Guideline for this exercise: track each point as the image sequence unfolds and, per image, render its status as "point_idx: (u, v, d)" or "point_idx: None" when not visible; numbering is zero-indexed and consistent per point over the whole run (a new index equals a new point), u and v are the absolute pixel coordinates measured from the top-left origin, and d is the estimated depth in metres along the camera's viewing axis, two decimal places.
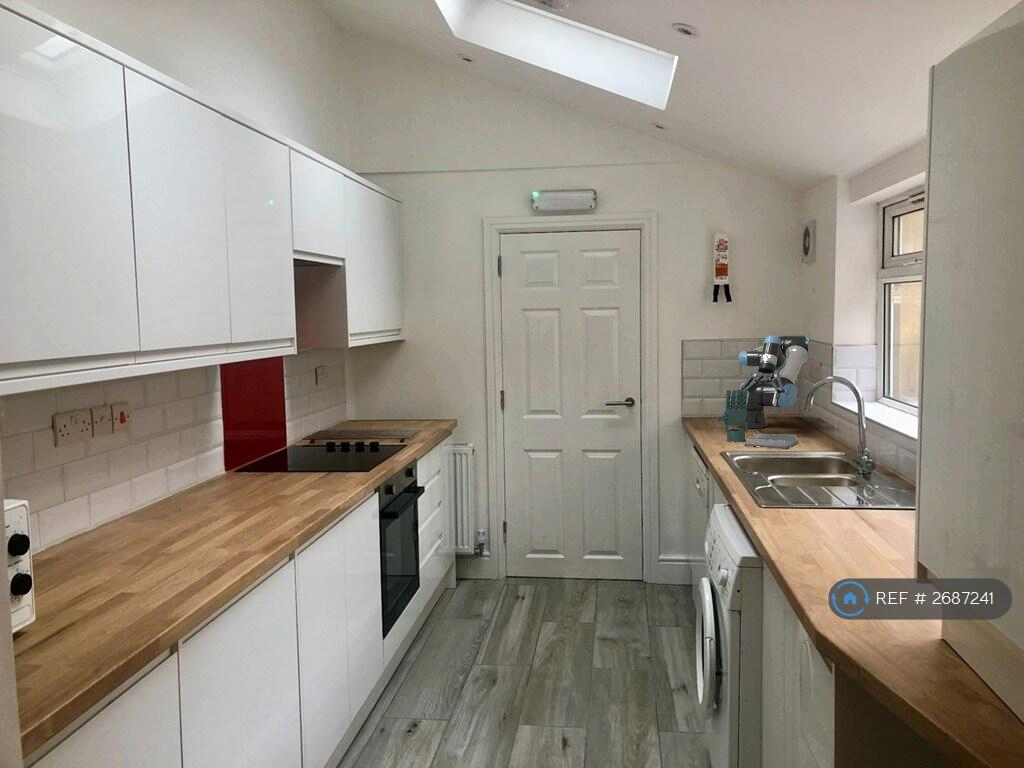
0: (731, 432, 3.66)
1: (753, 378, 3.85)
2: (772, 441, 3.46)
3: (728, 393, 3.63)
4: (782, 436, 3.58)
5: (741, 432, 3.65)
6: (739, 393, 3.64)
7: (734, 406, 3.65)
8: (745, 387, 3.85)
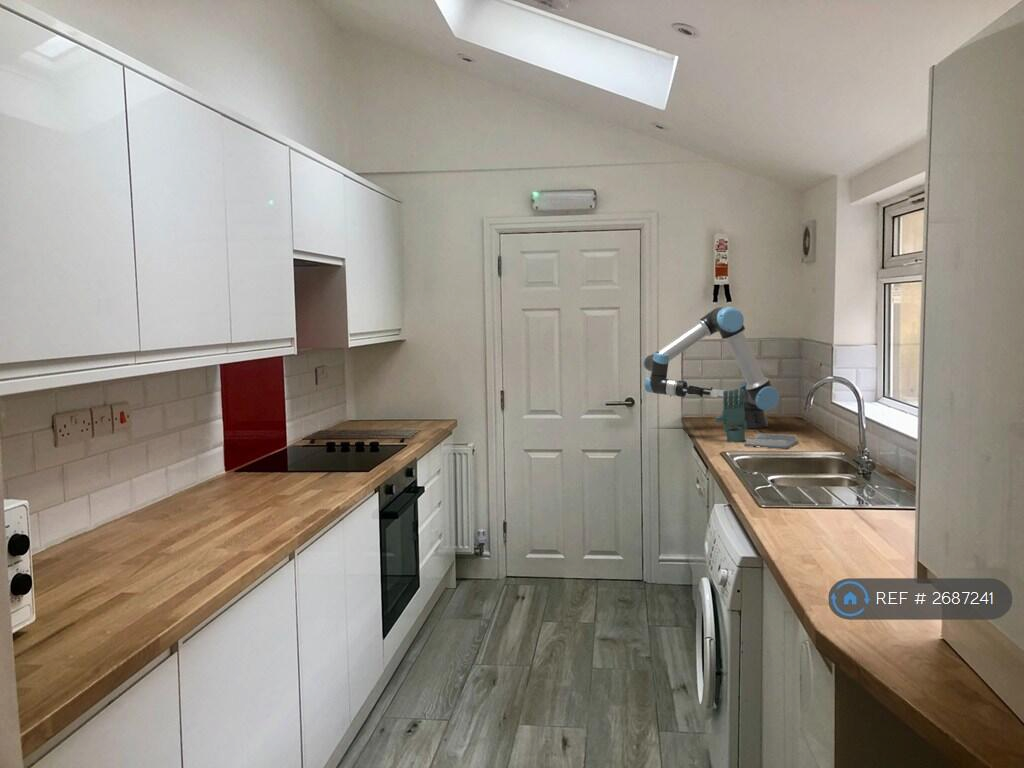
0: (730, 432, 3.66)
1: None
2: (772, 441, 3.46)
3: (725, 394, 3.62)
4: (782, 436, 3.58)
5: (740, 431, 3.65)
6: (736, 393, 3.63)
7: (732, 406, 3.65)
8: (707, 389, 3.84)
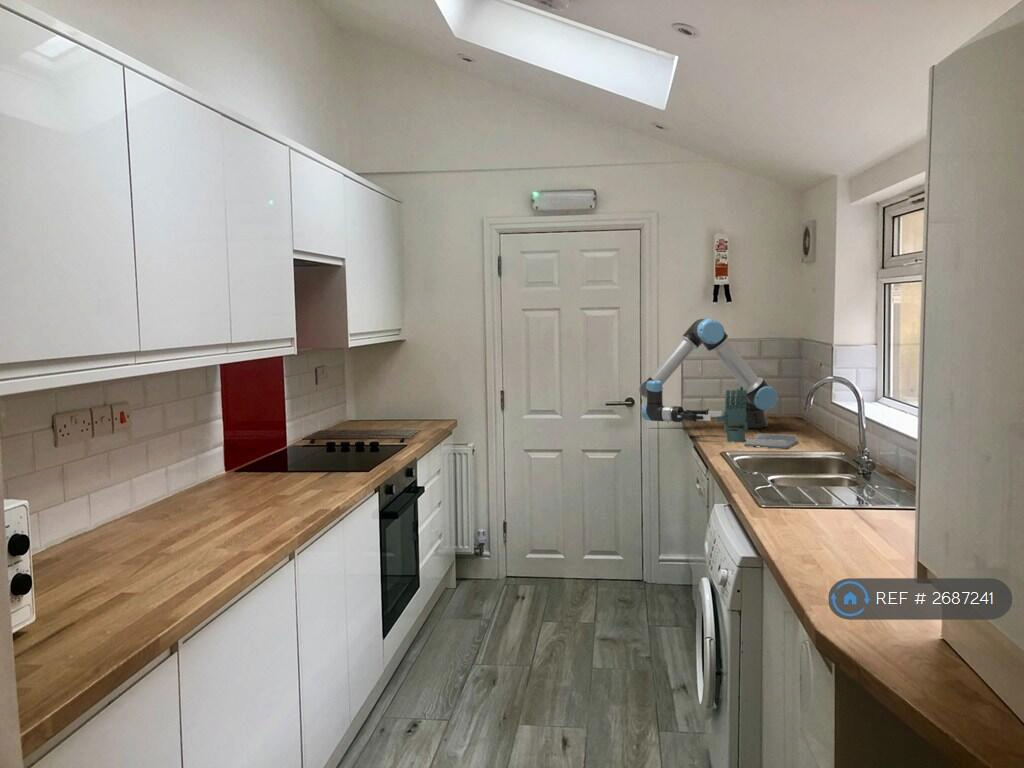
0: (731, 432, 3.66)
1: None
2: (772, 441, 3.46)
3: (727, 393, 3.63)
4: (782, 436, 3.58)
5: (741, 432, 3.65)
6: (738, 393, 3.64)
7: (734, 406, 3.65)
8: None
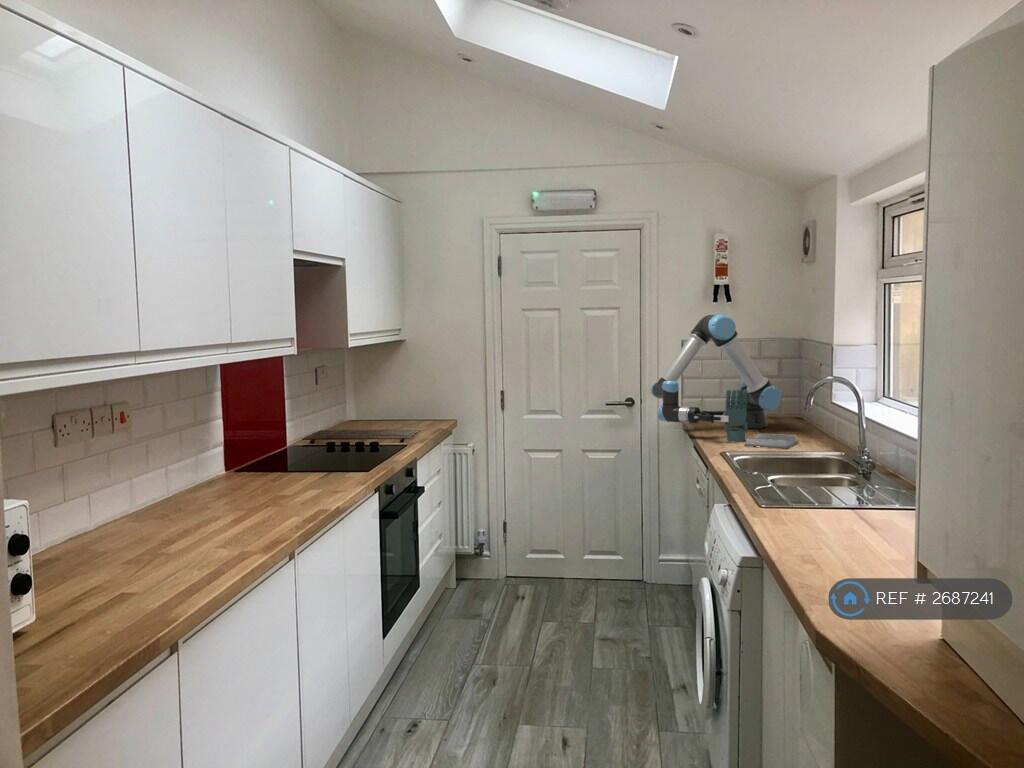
0: (731, 432, 3.66)
1: None
2: (772, 441, 3.46)
3: (728, 393, 3.63)
4: (782, 436, 3.58)
5: (741, 432, 3.65)
6: (739, 393, 3.64)
7: (734, 406, 3.65)
8: None
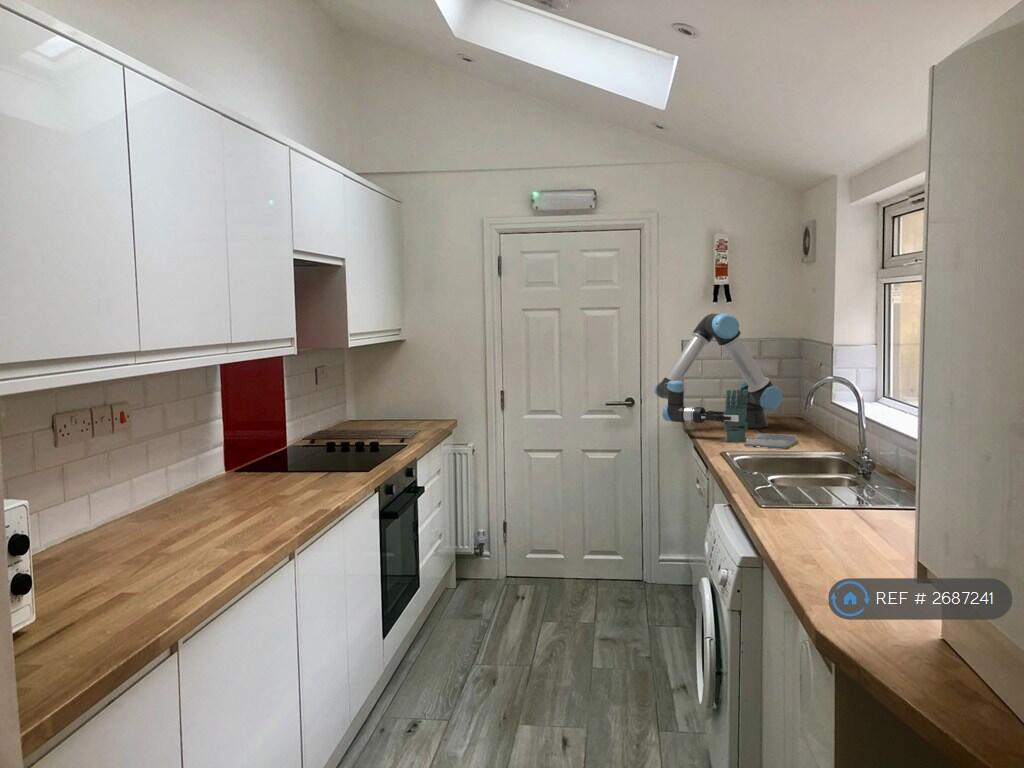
0: (731, 432, 3.66)
1: (714, 413, 3.78)
2: (772, 441, 3.46)
3: (728, 393, 3.63)
4: (782, 436, 3.58)
5: (741, 432, 3.65)
6: (739, 393, 3.64)
7: (734, 406, 3.65)
8: None
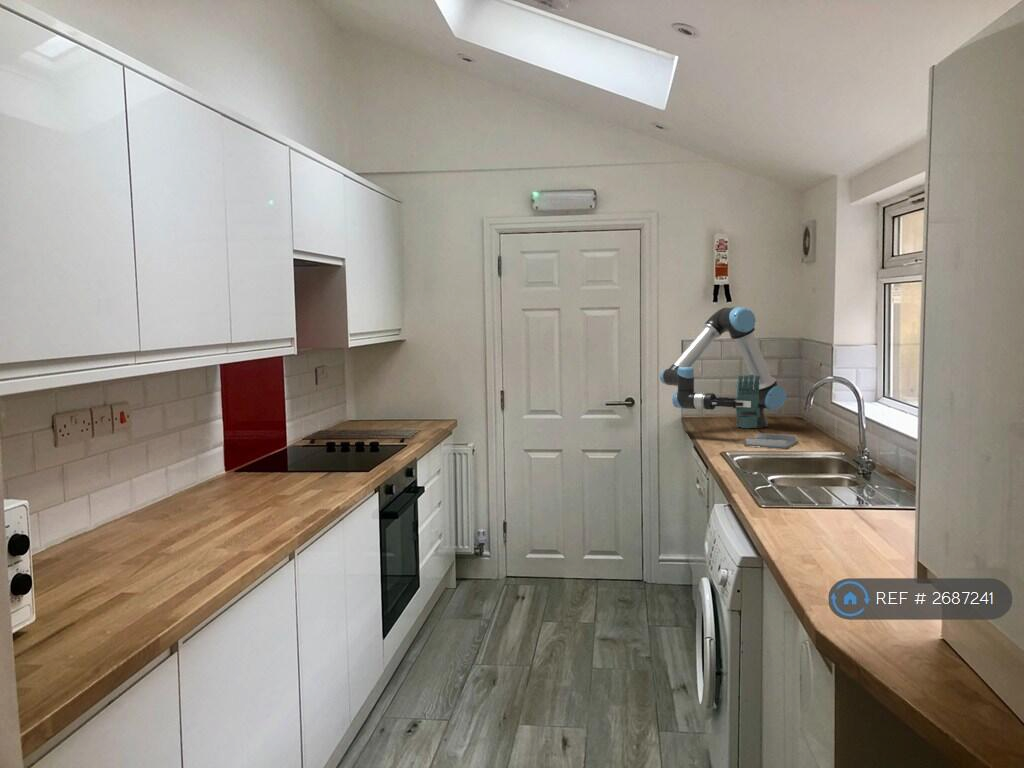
0: (743, 418, 3.60)
1: (726, 399, 3.72)
2: (772, 441, 3.46)
3: (740, 378, 3.57)
4: (782, 436, 3.58)
5: (753, 418, 3.59)
6: (751, 378, 3.58)
7: (746, 392, 3.59)
8: None
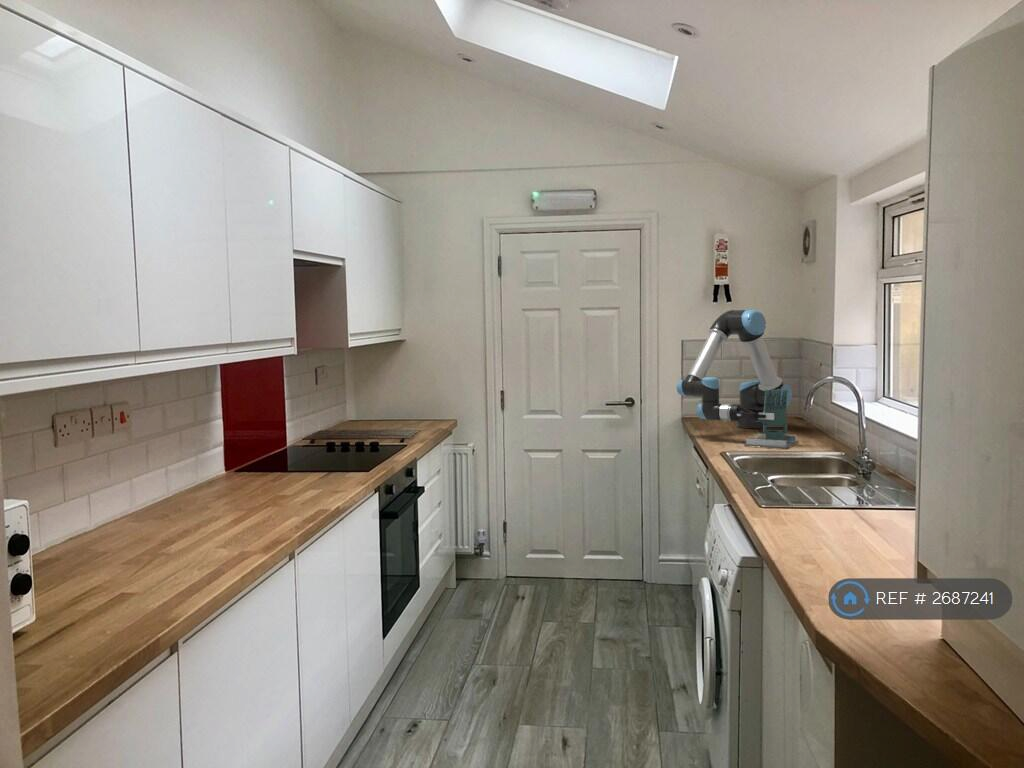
0: (770, 434, 3.52)
1: None
2: (772, 441, 3.46)
3: (767, 393, 3.49)
4: None
5: (781, 434, 3.51)
6: (779, 393, 3.49)
7: (773, 407, 3.51)
8: None
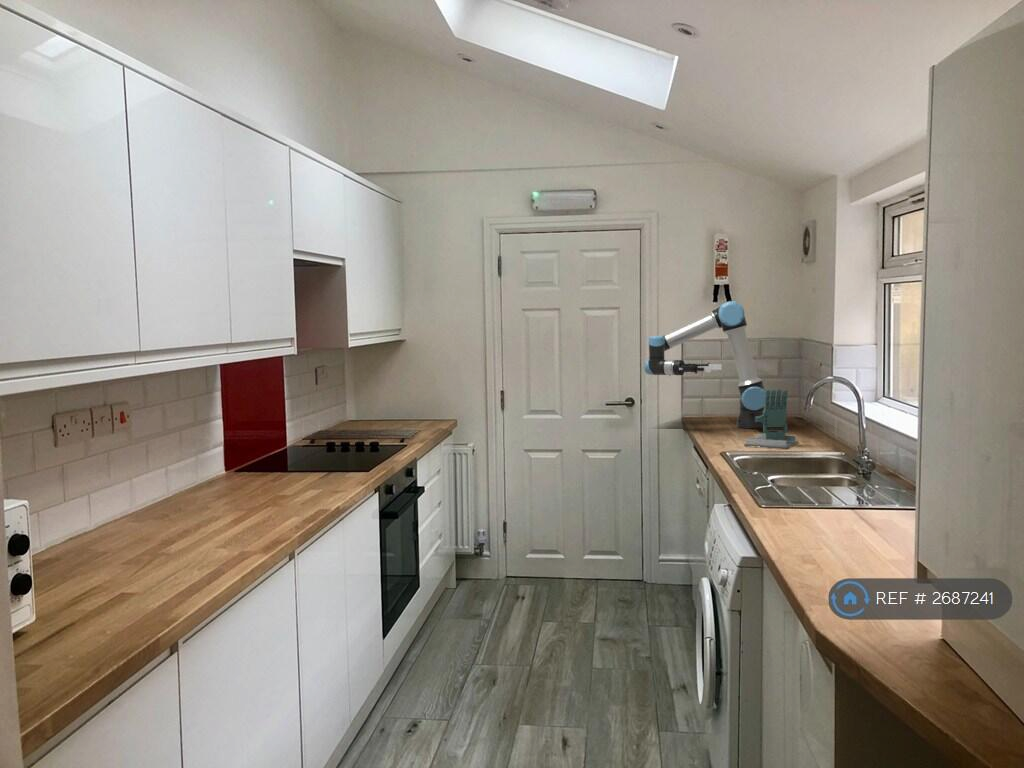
0: (770, 434, 3.52)
1: (693, 366, 3.98)
2: (772, 441, 3.46)
3: (767, 393, 3.49)
4: None
5: (781, 434, 3.51)
6: (779, 393, 3.49)
7: (773, 407, 3.51)
8: None
